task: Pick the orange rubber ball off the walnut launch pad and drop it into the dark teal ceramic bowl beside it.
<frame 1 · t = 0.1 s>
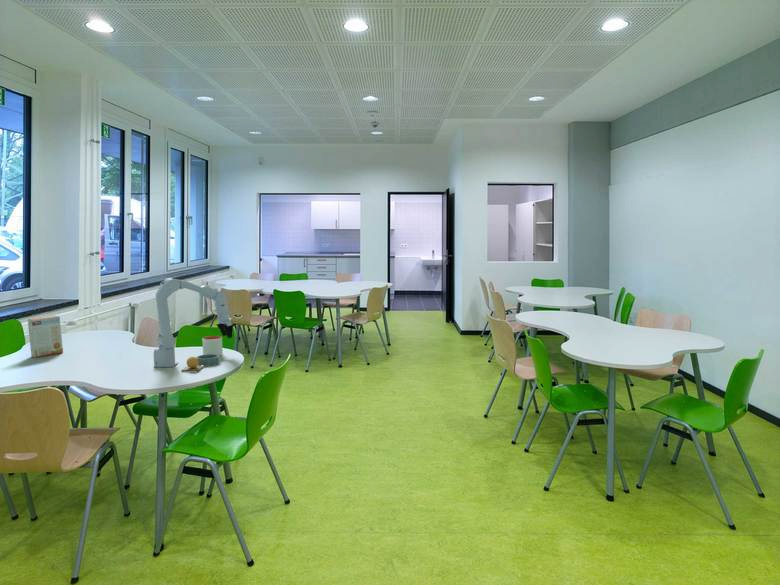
hand: (227, 336, 286), 11 cm above the table, tool pointing down, fingers open, 7 cm apart
bowl: (207, 363, 272), on the table
launch pad: (192, 369, 260), on the table
ball: (192, 362, 259), point 4 cm above the table, touching launch pad
cracker box: (47, 355, 292), on the table
cup: (213, 356, 288), on the table
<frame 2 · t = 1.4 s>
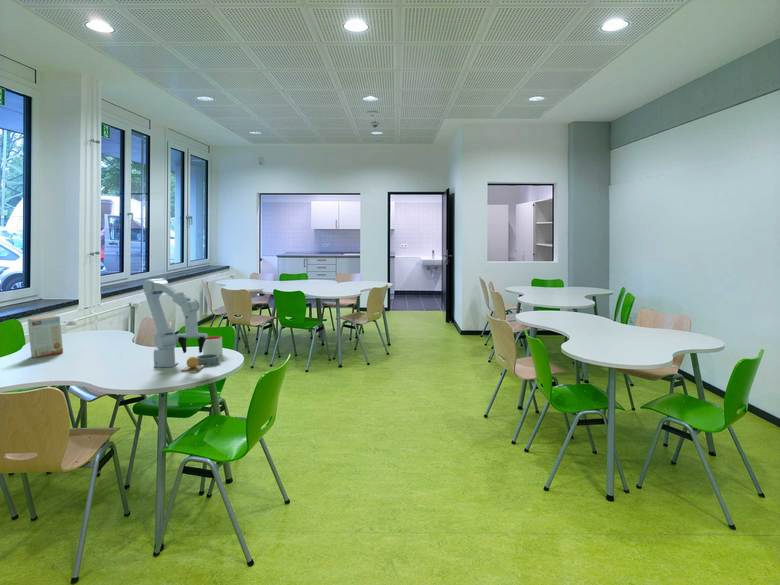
hand: (192, 352, 259), 8 cm above the table, tool pointing down, fingers open, 7 cm apart
nothing on the table moved.
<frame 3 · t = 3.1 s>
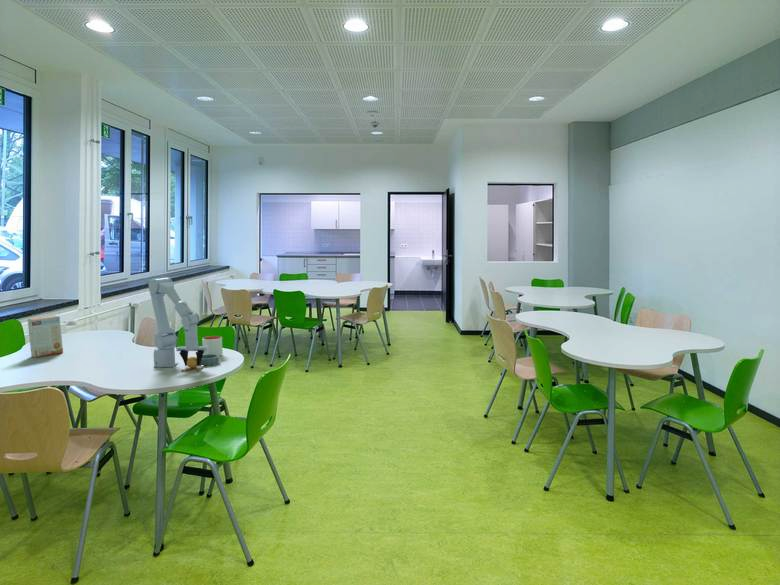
hand: (192, 365, 259), 2 cm above the table, tool pointing down, fingers closed on ball, 5 cm apart
ball: (192, 362, 259), point 4 cm above the table, touching gripper, launch pad
everything else where it was.
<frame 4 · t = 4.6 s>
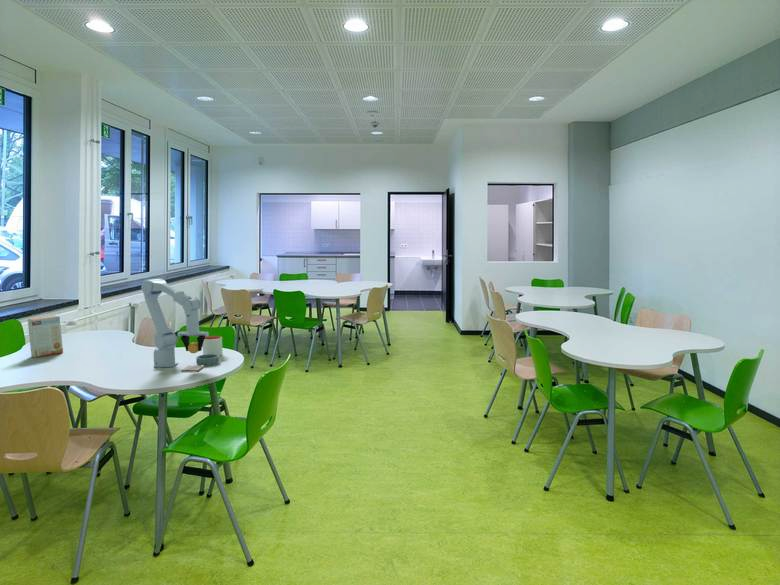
hand: (193, 350, 260), 9 cm above the table, tool pointing down, fingers closed on ball, 5 cm apart
ball: (193, 347, 260), point 11 cm above the table, touching gripper
everything else where it was.
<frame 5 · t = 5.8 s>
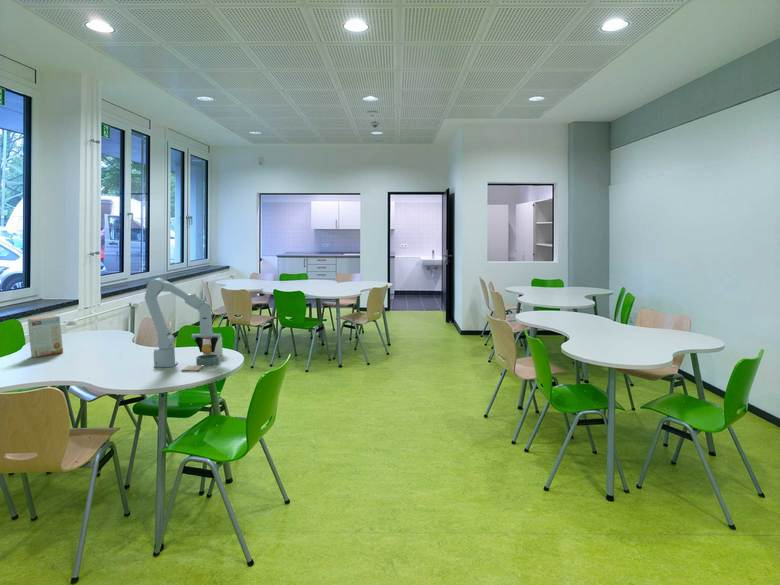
hand: (207, 351, 271), 6 cm above the table, tool pointing down, fingers closed on ball, 5 cm apart
ball: (207, 348, 271), point 7 cm above the table, touching gripper
everything else where it was.
when the fingers open (4 cm above the table, at t = 6.6 s): ball drops 3 cm, resting on bowl.
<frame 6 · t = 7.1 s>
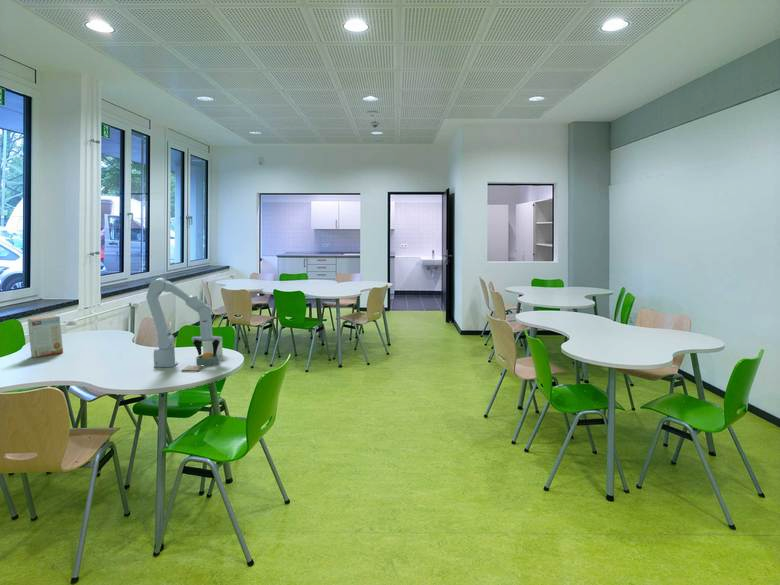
hand: (207, 354, 271), 4 cm above the table, tool pointing down, fingers open, 7 cm apart
ball: (207, 357, 271), point 3 cm above the table, touching bowl
everything else where it was.
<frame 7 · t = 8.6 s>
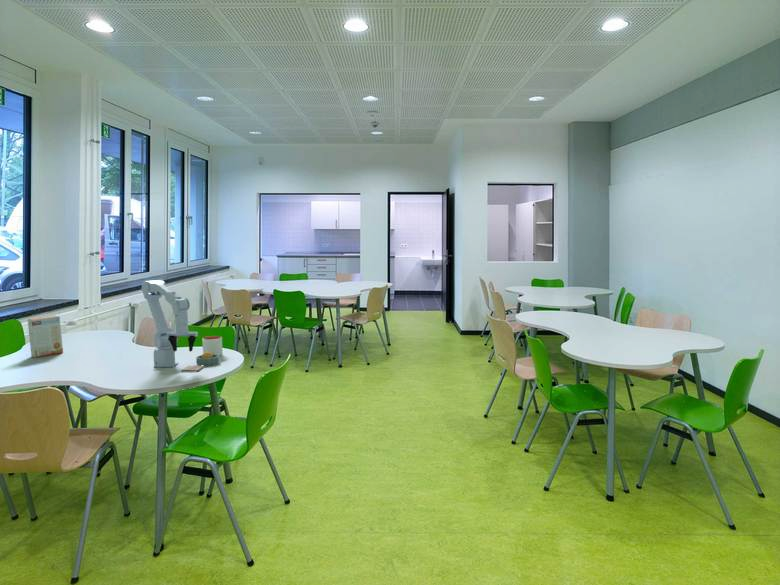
hand: (183, 351, 258), 9 cm above the table, tool pointing down, fingers open, 7 cm apart
nothing on the table moved.
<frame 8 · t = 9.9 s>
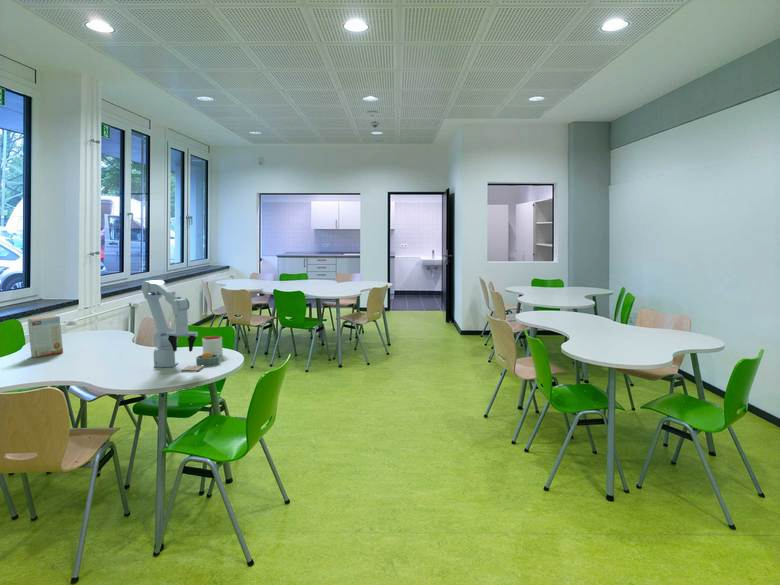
hand: (183, 351, 258), 9 cm above the table, tool pointing down, fingers open, 7 cm apart
nothing on the table moved.
at the end: ball 0.2 cm off-centre on the bowl, point 3.2 cm above the bowl's base; the gripper is holding nothing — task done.
